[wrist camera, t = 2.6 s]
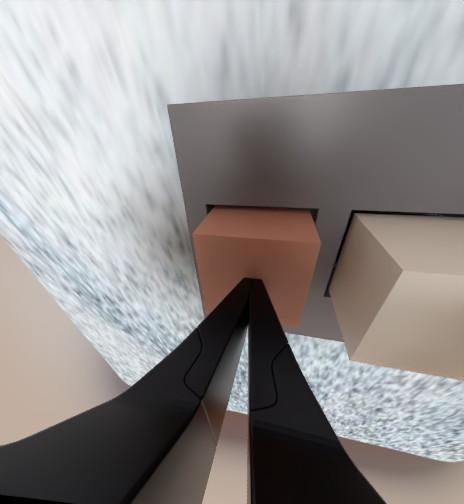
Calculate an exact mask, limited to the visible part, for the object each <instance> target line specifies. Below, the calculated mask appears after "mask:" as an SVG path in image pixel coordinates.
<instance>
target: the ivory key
mask: <svg viewBox="0 0 464 504" xmlns="http://www.w3.org/2000/svg"><path fill="white" fill-rule="evenodd" d="M328 290H329V293H330V296H331V300H332V303H333V306H334V310H335V313H336V316H337V320H338V323H339V326H340V330H341V333H342V336H343V340H344V343H345V346H346V350H347V353H348V356H349V360H350V361H356V362H361V363H367V364H372V365H378V366H384V367H389V368H395V369H400V370H406V371H412V372H417V373H423V374H428V375H434V376H440V377H445V378H451V379H457V380H462V381H464V218H459V217H435V216H411V215H387V214H363V213H354V215H353V218H352V221H351V224H350V227H349V230H348V233H347V236H346V239H345V242H344V244H343V247H342V250H341V253H340V256H339V259H338V262H337V265H336V268H335V271H334V274H333V277H332V280H331V283H330V286H329V289H328Z"/></svg>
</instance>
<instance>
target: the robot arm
mask: <svg viewBox="0 0 464 504" xmlns="http://www.w3.org/2000/svg"><path fill="white" fill-rule="evenodd" d="M247 328H248V447H247V450H248V452H247V453H248V454H247V455H248V456H247V504H386V502H385V501H384V500H383V498H382V497H381V496H380V495H379V494H378V492H377V491H376V490H375V489H374V488H373V486H372V485H371V484H370V483H369V481H368V480H367V479H366V478H365V477H364V475H363V474H362V473H361V472H360V470H359V469H358V468H357V466H356V465H355V464H354V462H353V461H352V460H351V458H350V457H349V455H348V454H347V452H346V451H345V449H344V447H343V446H342V444H341V443H340V441H339V439H338V437H337V436H336V434H335V432H334V430H333V429H332V427H331V425H330V423H329V421H328V419H327V418H326V416H325V414H324V412H323V410H322V409H321V407H320V405H319V403H318V401H317V400H316V398H315V396H314V394H313V392H312V390H311V389H310V387H309V385H308V383H307V381H306V379H305V377H304V375H303V373H302V372H301V370H300V368H299V365H298V363H297V361H296V359H295V356H294V354H293V352H292V349H291V347H290V345H289V344H288V340H287V338H286V335H285V333H284V330H283V328H282V326H281V323H280V321H279V318H278V316H277V314H276V311H275V309H274V306H273V304H272V302H271V299H270V297H269V294H268V292H267V289H266V287H265V285H264V282H263V280H262V279H256V278H254V279H252V278H248V277H244V278H243V279H242V280H241V281H240V282H239V283H238V284H237V285H236V286H235V287H234V288H233V289H232V290H231V291H230V292H229V294H228V295H227V296H226V297H225V298H224V299H223V300H222V301H221V302H220V303H219V304H218V305H217V306H216V307H215V308H214V309H213V311H212V312H211V313H210V314H209V315H208V316H207V317H206V318H205V319H204V320H203V321H202V322H201V323H200V324H199V325H198V327H197V328H195V329H194V331H193V332H192V333H191V334H190V335H189V336H188V337H187V338H186V339H185V340H184V341H183V342H182V343H181V344H180V345H179V346H178V347H177V348H175V349H174V350H173V351H172V352H171V353H170V354H169V355H168V356H167V357H165V358H164V359H163V360H162V361H161V362H160V363H158V364H157V365H156V366H155V367H154V368H153V369H151V370H150V371H149V372H148V373H147V374H146V375H145V376H143V377H142V378H141V379H140V380H139V381H138V382H136V383H135V384H134V385H133V386H132V387H130V388H129V389H127V390H126V391H125V392H123V393H122V394H120V395H119V396H117V397H115V398H113V399H112V400H109V401H107V402H105V403H103V404H101V405H98V406H96V407H94V408H92V409H89V410H87V411H85V412H83V413H81V414H78V415H76V416H74V417H72V418H69V419H67V420H65V421H63V422H60V423H58V424H56V425H54V426H52V427H49V428H47V429H45V430H43V431H40V432H38V433H36V434H34V435H32V436H29V437H27V438H24V439H22V440H19V441H17V442H13V443H10V444H6V445H2V446H0V504H202V501H203V497H204V493H205V489H206V485H207V482H208V478H209V474H210V470H211V466H212V463H213V459H214V455H215V451H216V446H217V443H218V439H219V436H220V432H221V428H222V424H223V420H224V417H225V413H226V409H227V405H228V401H229V398H230V394H231V390H232V386H233V382H234V378H235V375H236V371H237V367H238V363H239V359H240V356H241V352H242V348H243V344H244V340H245V336H246V333H247Z"/></svg>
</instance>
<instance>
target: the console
mask: <svg viewBox="0 0 464 504" xmlns="http://www.w3.org/2000/svg"><path fill="white" fill-rule="evenodd" d="M167 107H168V113H169V119H170V124H171V130H172V136H173V141H174V147H175V153H176V158H177V164H178V170H179V175H180V181H181V187H182V192H183V198H184V204H185V209H186V215H187V221H188V226H189V232H190V238H191V243H192V249H193V254H194V260H195V266H196V271H197V277H198V283H199V288H200V294H201V300H202V305H203V311H204V317H205V318H206V317H207V316H208V315H209V314H207V313H205V307H204V301H203V296H202V290H201V284H200V278H199V272H198V266H197V260H196V254H195V248H194V243H193V237H192V233H193V232H194V231H195V230H196V228H197V227H198V226H199V225H200V224H201V222H202V221H203V220H204V219H205V217H206V216H207V215H208V214H209V213H210V211H211V210H212V209H213V208H214V206H215V205H240V206H265V207H291V208H309V210H310V213H311V216H312V218H313V221H314V224H315V227H316V230H317V232H318V235H319V238H320V241H321V246H320V250H319V254H318V258H317V262H316V265H315V269H314V273H313V277H312V281H311V284H310V288H309V292H308V296H307V300H306V303H305V307H304V311H303V315H302V319H301V322H300V326H299V328H297V327H290V326H284V325H281V326H282V328H283V330H284V332H285V333H291V334H297V335H304V336H310V337H316V338H322V339H328V340H335V341H341V342H344V340H343V336H342V333H341V330H340V326H339V323H338V320H337V316H336V313H335V310H334V306H333V303H332V300H331V296H330V293H329V290H328V289H329V286H330V283H331V280H332V277H333V274H334V271H335V269H333V266H334V263H335V260H336V256H337V253H338V250H339V247H340V244H341V241H342V238H343V235H344V232H345V229H346V226H347V223H348V220H349V217H350V214H351V211H352V210H368V211H394V212H420V213H439V214H438V216H437V217H459V218H464V84H456V85H441V86H427V87H413V88H399V89H384V90H370V91H356V92H342V93H327V94H313V95H299V96H284V97H270V98H256V99H242V100H227V101H213V102H199V103H185V104H170V105H167Z"/></svg>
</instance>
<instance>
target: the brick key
mask: <svg viewBox="0 0 464 504" xmlns="http://www.w3.org/2000/svg"><path fill="white" fill-rule="evenodd" d="M192 237H193V243H194V248H195V254H196V260H197V266H198V272H199V278H200V284H201V290H202V296H203V301H204V307H205V313H207V314H210V313H211V312H212V311H213V309H214V308H215V307H216V306H217V305H218V304H219V303H220V302H221V301H222V300H223V299H224V298H225V297H226V296H227V295H228V294H229V292H230V291H231V290H232V289H233V288H234V287H235V286H236V285H237V284H238V283H239V282H240V281H241V280H242V279H243V278H244V277H248V278H252V279H254V278H256V279H262V280H263V282H264V285H265V287H266V289H267V292H268V294H269V297H270V299H271V302H272V304H273V306H274V309H275V311H276V314H277V316H278V318H279V321H280V323H281V325H284V326H290V327H297V328H299V326H300V322H301V319H302V315H303V311H304V307H305V303H306V300H307V296H308V292H309V288H310V284H311V281H312V277H313V273H314V269H315V265H316V262H317V258H318V254H319V250H320V246H321V241H320V238H319V235H318V232H317V230H316V227H315V224H314V221H313V218H312V216H311V213H310V210H309V208H291V207H265V206H240V205H215V206H214V208H213V209H212V210H211V211H210V213H209V214H208V215H207V216H206V217H205V219H204V220H203V221H202V222H201V224H200V225H199V226H198V227H197V228H196V230H195V231H194V232H193V233H192Z"/></svg>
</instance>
